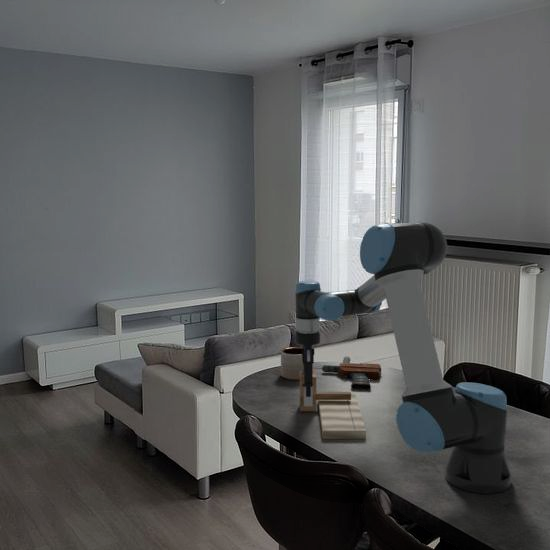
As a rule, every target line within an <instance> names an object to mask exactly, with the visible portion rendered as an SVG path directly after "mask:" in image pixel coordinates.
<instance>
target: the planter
mask: <svg viewBox="0 0 550 550" xmlns="http://www.w3.org/2000/svg"><path fill="white" fill-rule="evenodd" d="M302 348H303V347H300V346H299V347H297V346H293V347H292V346H291V347H285V348H283V349H280V350H281V351H280V376H281V377H282V378H284V379H286V380H293V381H300V371H304V364H303V360H302Z"/></svg>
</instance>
